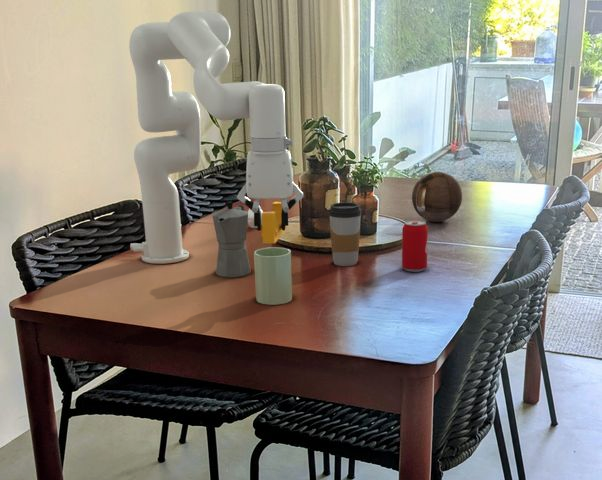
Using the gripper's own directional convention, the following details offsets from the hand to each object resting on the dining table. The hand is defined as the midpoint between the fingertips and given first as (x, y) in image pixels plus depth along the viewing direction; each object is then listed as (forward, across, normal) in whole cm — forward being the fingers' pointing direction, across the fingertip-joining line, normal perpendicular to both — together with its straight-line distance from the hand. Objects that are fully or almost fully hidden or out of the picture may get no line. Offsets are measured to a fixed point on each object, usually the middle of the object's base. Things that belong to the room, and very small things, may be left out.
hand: (271, 228), depth 190 cm
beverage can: (+17, -34, -22) cm, 44 cm away
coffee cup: (+17, -17, -29) cm, 37 cm away
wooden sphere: (+17, -46, -74) cm, 89 cm away
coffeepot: (+17, +11, -23) cm, 30 cm away
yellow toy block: (+2, 0, 0) cm, 2 cm away
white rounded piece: (+16, +9, -71) cm, 73 cm away
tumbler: (+16, 0, 0) cm, 16 cm away
